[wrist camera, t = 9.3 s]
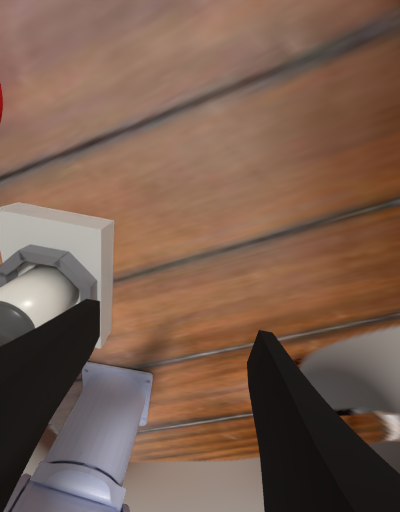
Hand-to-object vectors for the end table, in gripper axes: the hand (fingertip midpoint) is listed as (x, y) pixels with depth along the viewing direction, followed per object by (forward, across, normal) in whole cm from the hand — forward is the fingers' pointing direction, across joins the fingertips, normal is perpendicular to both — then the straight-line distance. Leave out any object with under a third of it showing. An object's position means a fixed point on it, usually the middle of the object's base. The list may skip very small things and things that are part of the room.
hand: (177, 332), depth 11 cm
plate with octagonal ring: (+10, +11, +5) cm, 16 cm away
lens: (+8, +11, +5) cm, 14 cm away
